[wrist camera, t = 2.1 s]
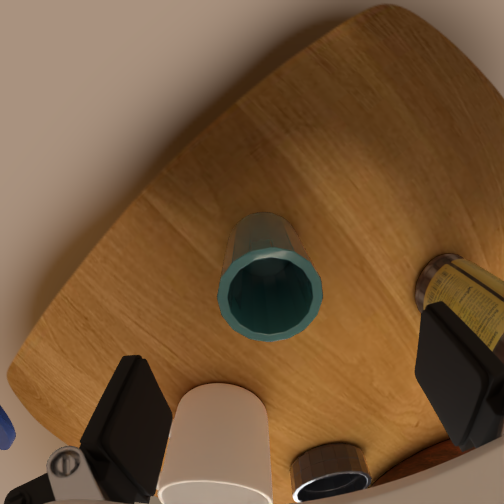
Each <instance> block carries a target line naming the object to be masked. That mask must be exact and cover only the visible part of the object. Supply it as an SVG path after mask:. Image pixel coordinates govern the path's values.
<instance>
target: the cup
mask: <svg viewBox="0 0 504 504" xmlns="http://www.w3.org/2000/svg"><path fill="white" fill-rule="evenodd" d="M322 299H323V291H322V282H321V278H320V276H319V274H318V272H317V270H316V268H315V266H314V264H313V262H312V261H311V259H310V257H309V255H308V253H307V251H306V249H305V247H304V245H303V244H302V242H301V240H300V238H299V236H298V234H297V233H296V231H295V230H294V228H293V226H292V225H291V224H290V223H289V222H288V221H287V220H286V219H284V218H283V217H281V216H279V215H277V214H274V213H269V212H259V213H254V214H251V215H248V216H246V217H245V218H243V219H242V220H240V221H239V222H238V223H237V224H236V225H235V227H234V228H233V230H232V231H231V234H230V236H229V239H228V244H227V249H226V254H225V258H224V263H223V268H222V273H221V278H220V283H219V289H218V294H217V300H218V304H219V308H220V311H221V315H222V317H223V318H224V319H225V320H226V322H227V323H228V324H229V325H230V326H231V328H232V329H233V330H234V331H236V332H238V333H240V334H241V335H243V336H245V337H247V338H249V339H252V340H258V341H265V342H273V341H279V340H284V339H288V338H290V337H292V336H294V335H296V334H298V333H300V332H301V331H303V330H304V329H306V328H307V326H308V325H309V324H310V323H311V322H312V321H313V320H314V318H315V317H316V316H317V314H318V311H319V308H320V305H321V302H322Z"/></svg>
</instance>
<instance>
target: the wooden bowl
mask: <svg viewBox="0 0 504 504" xmlns="http://www.w3.org/2000/svg"><path fill="white" fill-rule="evenodd" d="M474 449H476V448H475V447H473V448H471V449H469V450H466V451H464V452H462V451H461V449H460V447H459V446H455V445H454V444H453V443H452V441H451V439H450V440H447V441H444V442H441V443H439V444H436V445H434V446H432V447H429V448H427V449H425V450H423V451H421V452H419V453H417V454H415V455H414V456H412V457H410V458H408V459H406V460H405V461H403V462H401V463H400V464H398V465H397V466H395V467H394V468H392V469H391V470H389V471H388V472H387V473H385V474H384V475H383V476H382V477H380V478H379V479H378V480H377V481H376V482H375V483H374V484H373V485H372V486H371V487H375V486H378V485H382V484H385V483H388V482H392V481H395V480H398V479H401V478H404V477H407V476H410V475H413V474H416V473H419V472H421V471H424V470H427V469H429V468H432V467H435V466H437V465H439V464H442V463H444V462H447V461H449V460H452V459H454V458H456V457H459V456H461V455H463V454H466V453H468V452H470V451H472V450H474ZM371 487H370V488H371Z"/></svg>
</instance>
